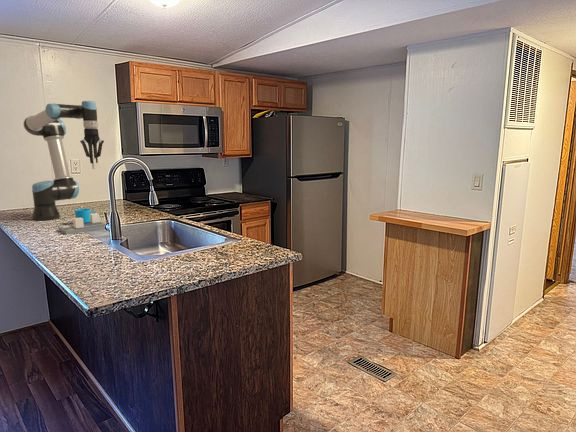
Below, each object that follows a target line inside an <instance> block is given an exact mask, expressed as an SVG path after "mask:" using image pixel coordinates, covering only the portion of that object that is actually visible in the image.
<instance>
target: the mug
mask: <svg viewBox="0 0 576 432" xmlns="http://www.w3.org/2000/svg"><path fill="white" fill-rule="evenodd" d="M91 212H92V213H97V212H96V211H94V210H91V208H78V209H75V210H74V215H75V218H83V223H85V222H90V215H89V214H92V213H91Z"/></svg>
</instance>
